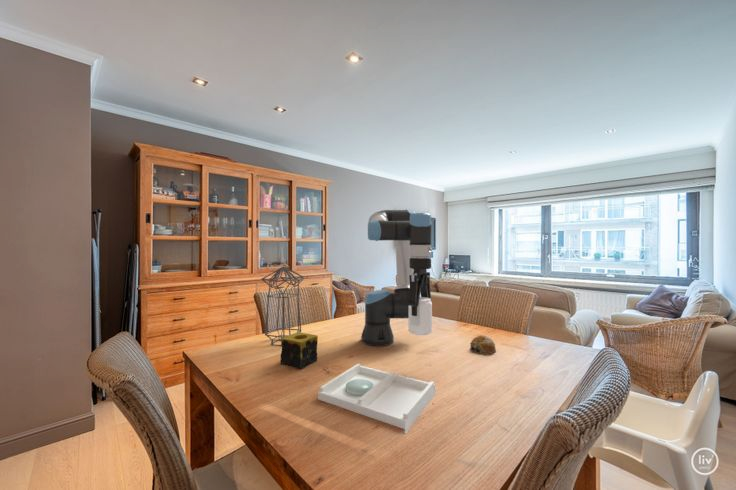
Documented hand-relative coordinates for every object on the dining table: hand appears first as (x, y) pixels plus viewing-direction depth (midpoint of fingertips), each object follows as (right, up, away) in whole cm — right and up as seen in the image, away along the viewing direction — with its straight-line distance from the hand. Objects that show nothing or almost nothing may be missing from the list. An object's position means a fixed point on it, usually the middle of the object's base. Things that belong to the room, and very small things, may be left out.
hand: (420, 321), depth 106 cm
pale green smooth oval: (-21, -17, -14) cm, 30 cm away
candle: (-45, -18, +9) cm, 49 cm away
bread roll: (+31, -18, +23) cm, 43 cm away
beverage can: (0, -4, 0) cm, 4 cm away
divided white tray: (-15, -18, -18) cm, 30 cm away
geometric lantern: (-57, -18, +33) cm, 68 cm away
